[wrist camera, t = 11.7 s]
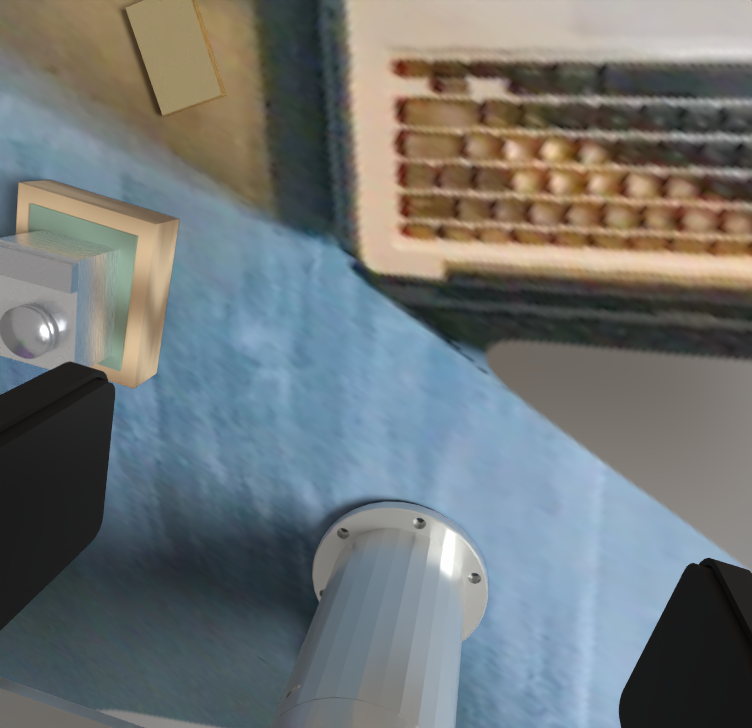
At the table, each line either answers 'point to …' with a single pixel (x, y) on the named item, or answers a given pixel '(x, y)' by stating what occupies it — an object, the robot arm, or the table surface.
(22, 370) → the table surface
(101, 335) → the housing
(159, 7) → the cover plate
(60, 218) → the picture frame
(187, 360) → the table surface
